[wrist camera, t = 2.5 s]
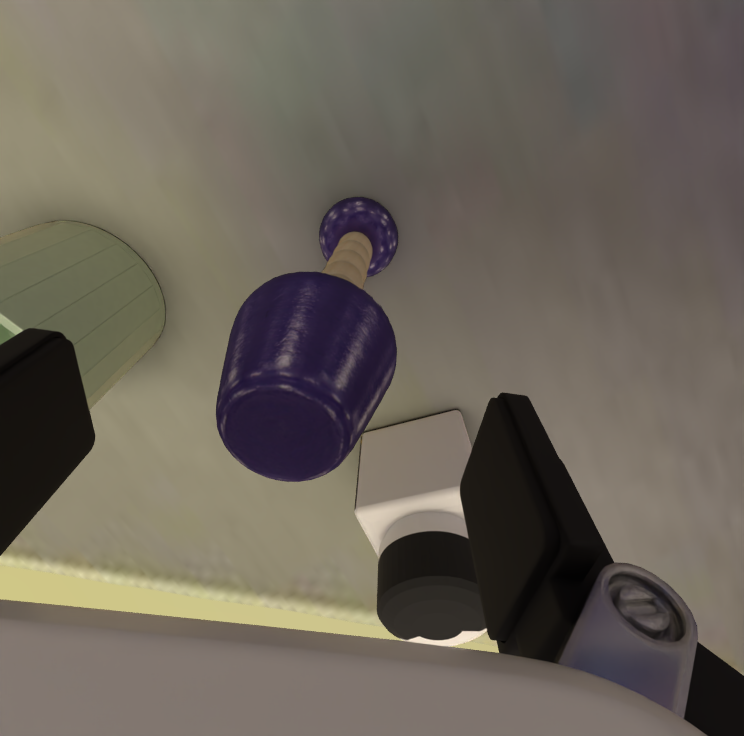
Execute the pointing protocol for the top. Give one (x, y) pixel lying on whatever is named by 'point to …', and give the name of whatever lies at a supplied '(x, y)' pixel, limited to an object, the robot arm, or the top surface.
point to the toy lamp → (311, 354)
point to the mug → (81, 297)
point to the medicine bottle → (420, 529)
